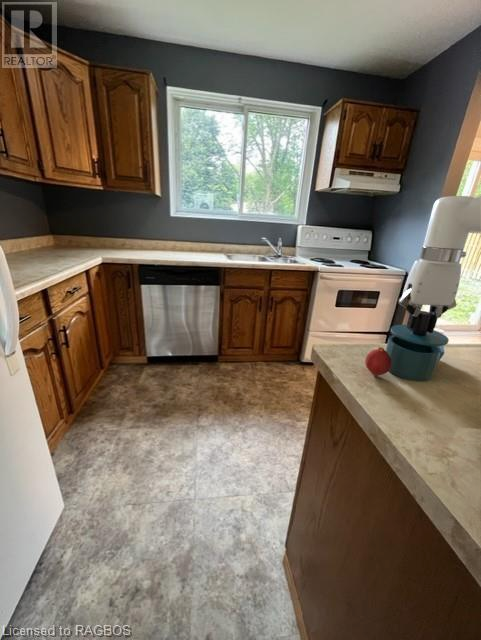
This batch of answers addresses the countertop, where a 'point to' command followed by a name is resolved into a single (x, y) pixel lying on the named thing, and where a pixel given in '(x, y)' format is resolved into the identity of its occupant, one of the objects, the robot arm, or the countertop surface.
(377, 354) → the onion
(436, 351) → the pot
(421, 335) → the lid
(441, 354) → the yogurt
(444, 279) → the robot arm
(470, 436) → the countertop surface
